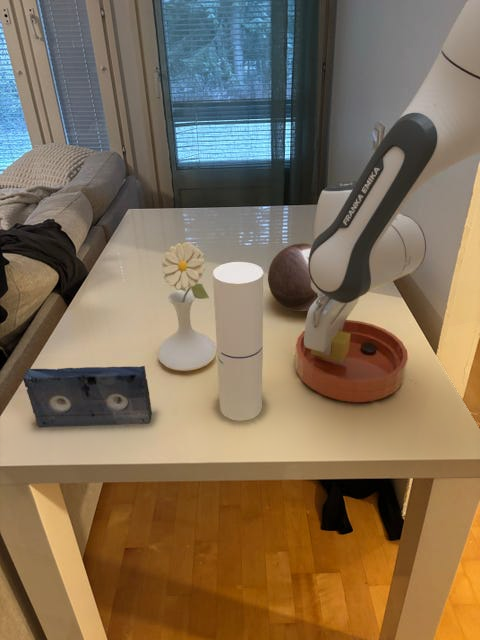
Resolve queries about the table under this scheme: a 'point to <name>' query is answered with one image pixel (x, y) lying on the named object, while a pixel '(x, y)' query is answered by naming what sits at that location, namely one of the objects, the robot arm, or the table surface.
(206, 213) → the table surface
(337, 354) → the sponge
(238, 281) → the cylindrical container
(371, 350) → the dark grey flat disc
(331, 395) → the bowl
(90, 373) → the vhs cassette tape
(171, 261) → the flower in vase
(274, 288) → the wooden sphere
